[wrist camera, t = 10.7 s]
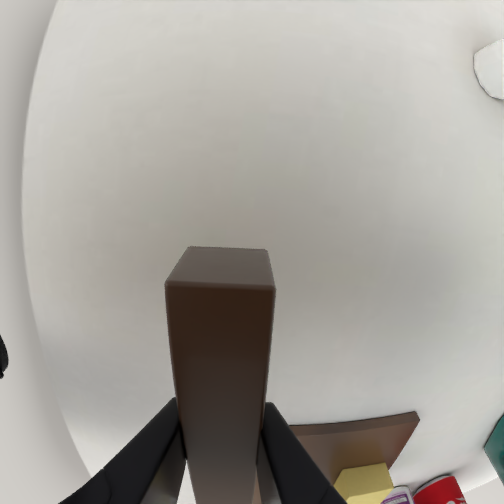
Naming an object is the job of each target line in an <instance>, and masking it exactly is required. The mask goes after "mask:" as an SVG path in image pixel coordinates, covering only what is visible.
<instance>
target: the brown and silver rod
mask: <svg viewBox="0 0 504 504" xmlns="http://www.w3.org/2000/svg"><path fill="white" fill-rule="evenodd" d="M164 285H165V300H166V313H167V325H168V336H169V346H170V355H171V364H172V372H173V380H174V387H175V394H176V401H177V408H178V414H179V421H180V426H181V432H182V438H183V443H184V449H185V454H186V459H187V464H188V469H189V474H190V478H191V483H192V487H193V492H194V496H195V500H196V504H253V498H254V491H255V483H256V476H257V469H256V464H257V455H258V447H259V438H260V431H261V430H262V427H263V418H264V409H265V400H266V391H267V381H268V372H269V362H270V352H271V341H272V331H273V320H274V308H275V297H276V287H275V282H274V278H273V273H272V268H271V264H270V259H269V255H268V251H267V250H265V249H245V248H221V247H196V246H190V247H188V248H187V249H186V251H185V252H184V254H183V255H182V257H181V258H180V260H179V261H178V263H177V264H176V266H175V268H174V269H173V271H172V272H171V274H170V275H169V277H168V278H167V280H166V282H165V284H164Z"/></svg>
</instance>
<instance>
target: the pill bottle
mask: <svg viewBox="0 0 504 504" xmlns="http://www.w3.org/2000/svg"><path fill="white" fill-rule="evenodd" d="M380 504H415V502H414V499H413V497H412V494H411V492H410V489H409V488H408V487H405V486H400V487H396V488H394V489H393V490H392V491H391V492H390V493H389V495H388V496H387V497H386V498H385V499H384V500H383V501H382V502H381V503H380Z"/></svg>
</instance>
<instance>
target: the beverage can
mask: <svg viewBox="0 0 504 504" xmlns="http://www.w3.org/2000/svg"><path fill="white" fill-rule="evenodd" d="M413 499H414V502H415V504H467V503H466V501H465V499H464V496H463V494H462V492H461V490H460V487H459V485H458V483H457V481H456V479H455V477H454V476H441V477H438V478H436V479H434V480H432V481H430V482H428V483H427V484H425V485H423V486H422V487H421V488H420V489H418V490H417V492H416V493H415V495H414V496H413Z"/></svg>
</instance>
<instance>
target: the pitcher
mask: <svg viewBox="0 0 504 504" xmlns="http://www.w3.org/2000/svg"><path fill="white" fill-rule="evenodd" d="M484 451H485V453H486V455H487V456H488V458H489V460H490V462H491V463H492V465H493V467H494V469H495V470H496V472H497V474H498V476H499V478H500V479H501V481H502V483H503V485H504V415H503V416H502V418H501V419H500V420H499V422H498V424H497V425H496V427H495V429H494V431H493V432H492V434H491V436H490V438H489V439H488V441H487V443H486V444H485V447H484Z"/></svg>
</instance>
